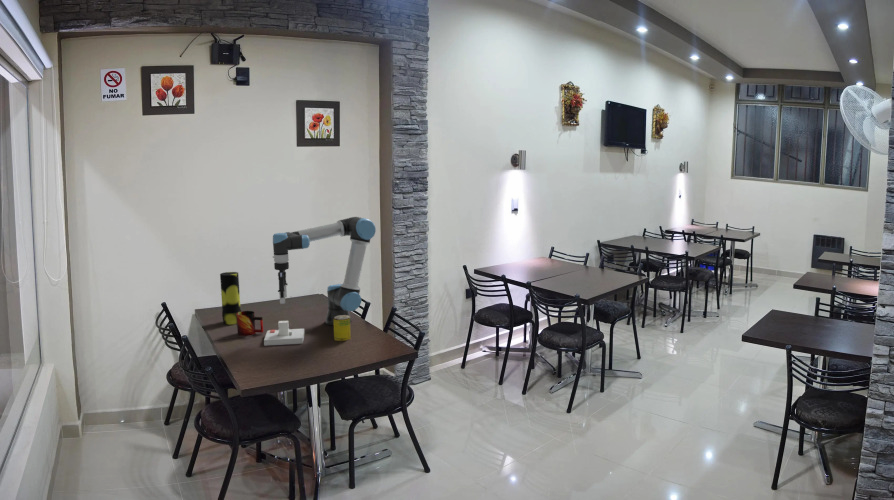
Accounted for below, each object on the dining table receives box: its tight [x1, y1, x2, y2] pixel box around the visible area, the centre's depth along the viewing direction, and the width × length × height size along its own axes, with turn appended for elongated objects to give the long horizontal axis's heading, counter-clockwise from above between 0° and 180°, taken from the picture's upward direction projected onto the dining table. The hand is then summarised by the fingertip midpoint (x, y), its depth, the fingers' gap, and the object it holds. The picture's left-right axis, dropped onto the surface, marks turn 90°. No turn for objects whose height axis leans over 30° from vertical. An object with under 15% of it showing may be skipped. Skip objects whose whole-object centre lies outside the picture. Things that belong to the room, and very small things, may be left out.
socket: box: [263, 328, 305, 347], centre depth 338 cm, size 20×18×4 cm
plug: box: [278, 320, 290, 336], centre depth 337 cm, size 5×4×10 cm
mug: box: [236, 310, 264, 337], centre depth 349 cm, size 10×14×12 cm
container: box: [219, 271, 242, 326], centre depth 370 cm, size 11×11×30 cm
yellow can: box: [333, 315, 352, 342], centre depth 339 cm, size 9×9×12 cm
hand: (283, 300), depth 336 cm, fingers open, 13 cm apart
